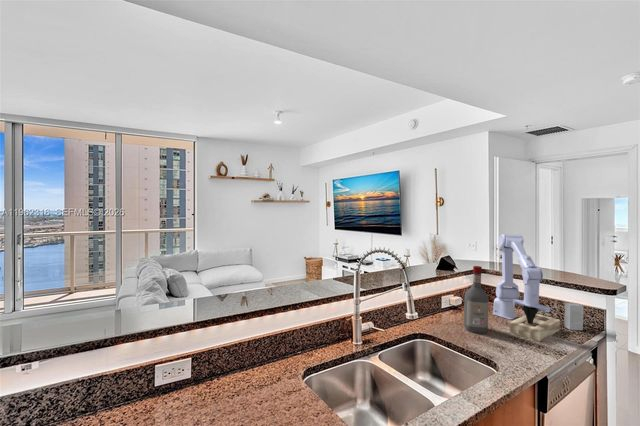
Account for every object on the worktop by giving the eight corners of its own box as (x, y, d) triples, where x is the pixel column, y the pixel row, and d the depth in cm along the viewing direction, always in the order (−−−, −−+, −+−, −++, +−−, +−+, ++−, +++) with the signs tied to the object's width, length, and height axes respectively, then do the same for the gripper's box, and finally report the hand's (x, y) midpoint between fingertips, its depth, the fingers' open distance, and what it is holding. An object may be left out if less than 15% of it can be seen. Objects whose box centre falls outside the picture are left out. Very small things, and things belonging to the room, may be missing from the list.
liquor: (488, 334, 144) (491, 269, 143) (467, 332, 146) (469, 267, 145) (482, 326, 153) (484, 265, 152) (462, 324, 154) (464, 264, 154)
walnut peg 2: (533, 327, 152) (534, 317, 152) (537, 325, 154) (537, 315, 154) (543, 330, 149) (543, 320, 149) (546, 328, 151) (547, 318, 151)
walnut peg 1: (523, 333, 145) (523, 322, 145) (526, 331, 147) (527, 320, 147) (532, 336, 142) (533, 325, 142) (536, 334, 144) (536, 323, 144)
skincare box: (576, 327, 154) (577, 303, 154) (582, 330, 150) (584, 305, 150) (563, 326, 155) (564, 302, 155) (569, 329, 151) (570, 305, 150)
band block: (509, 332, 146) (510, 321, 146) (531, 322, 160) (531, 312, 160) (539, 342, 136) (539, 330, 136) (559, 330, 150) (560, 319, 150)
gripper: (510, 291, 148) (509, 319, 148) (546, 299, 136) (545, 330, 136) (517, 289, 152) (515, 317, 152) (552, 296, 140) (551, 326, 140)
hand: (530, 323), depth 144 cm, fingers closed, pressing on walnut peg 1
